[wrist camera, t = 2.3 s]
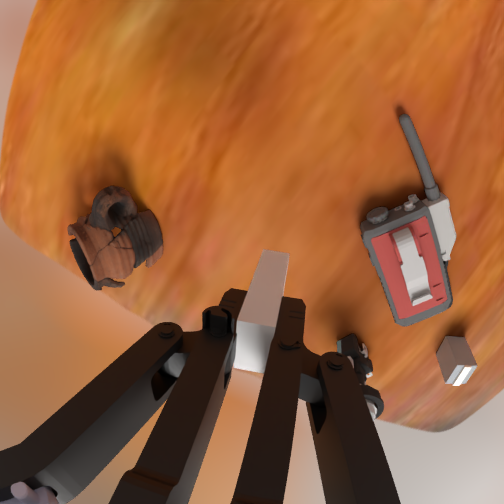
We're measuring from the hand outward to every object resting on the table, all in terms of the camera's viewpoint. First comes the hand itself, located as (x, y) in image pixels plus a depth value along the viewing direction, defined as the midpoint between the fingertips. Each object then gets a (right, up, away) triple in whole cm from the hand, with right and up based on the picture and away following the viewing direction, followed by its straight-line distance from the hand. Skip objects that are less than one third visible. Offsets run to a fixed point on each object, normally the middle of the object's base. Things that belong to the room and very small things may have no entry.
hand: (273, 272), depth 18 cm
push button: (+11, -10, +16) cm, 22 cm away
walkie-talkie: (+13, +4, +9) cm, 17 cm away
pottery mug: (-15, +4, +15) cm, 21 cm away
